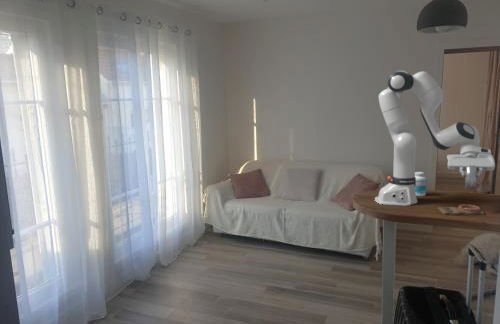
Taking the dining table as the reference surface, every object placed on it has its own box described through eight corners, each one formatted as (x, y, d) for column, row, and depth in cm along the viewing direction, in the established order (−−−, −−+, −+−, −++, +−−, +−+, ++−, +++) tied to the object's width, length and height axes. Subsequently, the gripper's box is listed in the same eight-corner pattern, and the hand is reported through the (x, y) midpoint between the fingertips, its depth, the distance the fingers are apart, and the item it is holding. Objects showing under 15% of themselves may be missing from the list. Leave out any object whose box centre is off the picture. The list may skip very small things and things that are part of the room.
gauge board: (444, 214, 180) (444, 209, 179) (437, 208, 190) (437, 204, 189) (484, 214, 177) (484, 209, 176) (475, 208, 187) (475, 204, 186)
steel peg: (467, 189, 179) (468, 166, 177) (463, 187, 183) (464, 165, 181) (477, 188, 178) (478, 166, 176) (473, 186, 182) (474, 165, 181)
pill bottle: (414, 192, 223) (414, 170, 221) (427, 194, 218) (427, 172, 216) (410, 195, 217) (410, 173, 215) (423, 197, 213) (424, 174, 211)
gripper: (447, 149, 189) (446, 171, 182) (494, 149, 179) (496, 173, 172) (446, 156, 193) (446, 178, 186) (493, 157, 184) (494, 180, 177)
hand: (470, 176), depth 179 cm, fingers closed on steel peg, 4 cm apart
